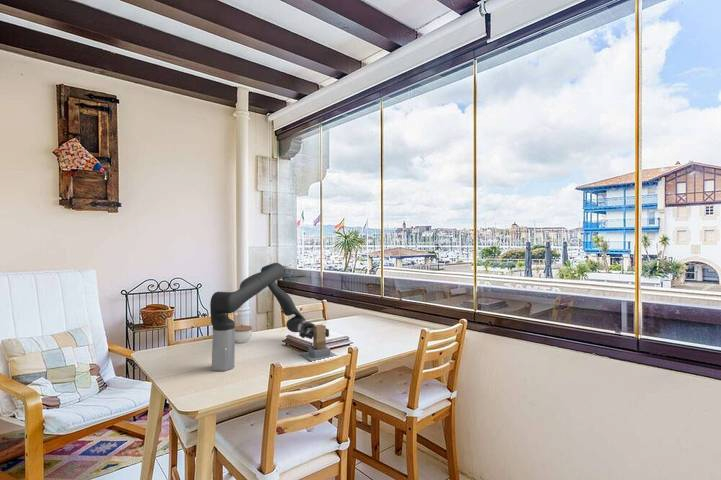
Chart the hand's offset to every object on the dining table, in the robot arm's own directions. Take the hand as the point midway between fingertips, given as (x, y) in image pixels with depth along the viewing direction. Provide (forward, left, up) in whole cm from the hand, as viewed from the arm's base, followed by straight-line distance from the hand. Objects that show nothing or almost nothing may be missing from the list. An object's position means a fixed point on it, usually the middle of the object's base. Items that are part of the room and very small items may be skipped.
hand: (320, 335), depth 188 cm
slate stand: (0, 0, -10) cm, 10 cm away
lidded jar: (+20, +48, -10) cm, 53 cm away
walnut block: (+1, 0, -9) cm, 9 cm away
